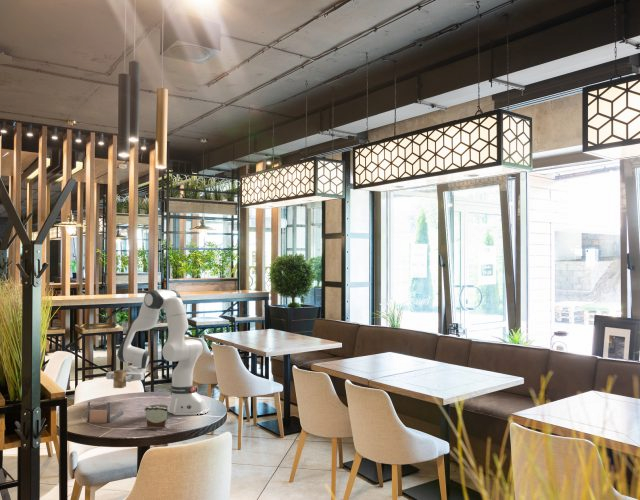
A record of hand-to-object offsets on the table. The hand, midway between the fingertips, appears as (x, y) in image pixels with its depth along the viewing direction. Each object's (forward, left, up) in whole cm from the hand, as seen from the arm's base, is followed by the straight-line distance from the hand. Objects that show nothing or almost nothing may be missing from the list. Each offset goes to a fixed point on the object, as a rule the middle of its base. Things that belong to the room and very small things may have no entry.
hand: (119, 378), depth 305 cm
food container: (-32, +25, -18) cm, 45 cm away
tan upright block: (0, -1, -5) cm, 5 cm away
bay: (0, +14, -18) cm, 23 cm away
